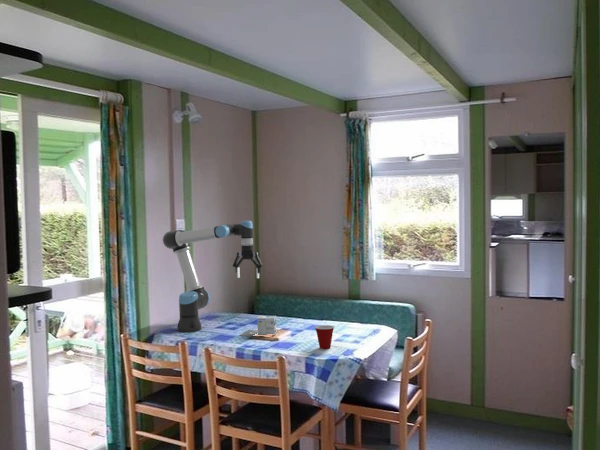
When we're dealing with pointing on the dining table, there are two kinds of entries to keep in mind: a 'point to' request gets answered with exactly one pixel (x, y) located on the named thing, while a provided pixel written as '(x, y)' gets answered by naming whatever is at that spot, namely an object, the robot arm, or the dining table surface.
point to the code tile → (249, 333)
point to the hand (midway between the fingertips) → (248, 277)
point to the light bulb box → (266, 325)
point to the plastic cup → (324, 336)
